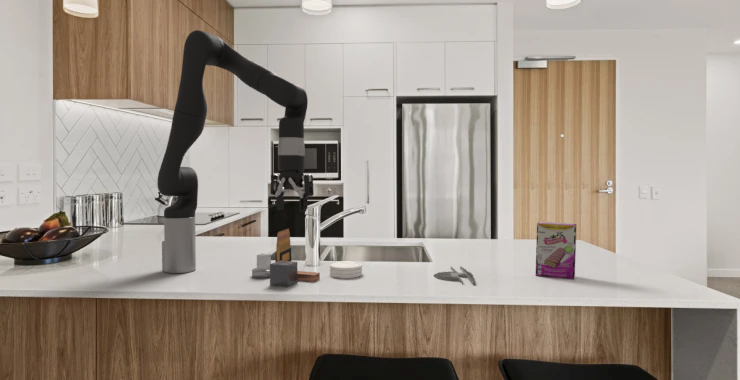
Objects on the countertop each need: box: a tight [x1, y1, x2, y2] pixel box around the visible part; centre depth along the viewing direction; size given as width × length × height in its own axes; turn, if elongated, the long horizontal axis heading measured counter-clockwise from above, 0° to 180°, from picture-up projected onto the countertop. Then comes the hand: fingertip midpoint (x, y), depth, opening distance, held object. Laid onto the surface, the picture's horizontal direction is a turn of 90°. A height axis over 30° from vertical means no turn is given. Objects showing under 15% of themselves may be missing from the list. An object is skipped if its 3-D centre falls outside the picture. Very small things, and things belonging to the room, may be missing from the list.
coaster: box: [329, 261, 363, 279], centre depth 143 cm, size 10×10×4 cm
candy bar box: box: [535, 221, 577, 280], centre depth 141 cm, size 11×5×16 cm, turn 65°
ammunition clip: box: [274, 228, 292, 263], centre depth 158 cm, size 11×2×12 cm, turn 170°
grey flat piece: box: [433, 265, 477, 286], centre depth 142 cm, size 28×28×1 cm
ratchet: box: [251, 253, 321, 283], centre depth 139 cm, size 22×7×7 cm, turn 70°
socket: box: [269, 260, 299, 288], centre depth 131 cm, size 6×6×6 cm
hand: (291, 210), depth 133 cm, fingers open, 8 cm apart
